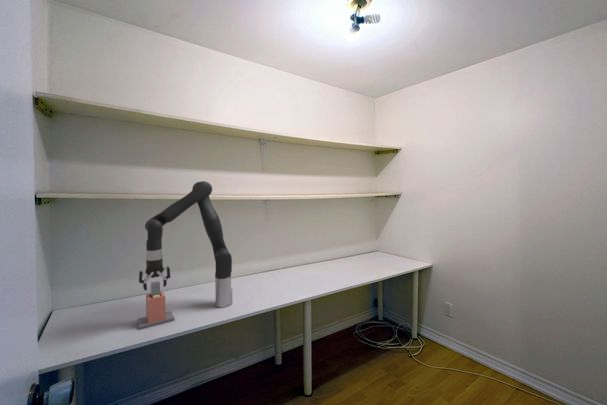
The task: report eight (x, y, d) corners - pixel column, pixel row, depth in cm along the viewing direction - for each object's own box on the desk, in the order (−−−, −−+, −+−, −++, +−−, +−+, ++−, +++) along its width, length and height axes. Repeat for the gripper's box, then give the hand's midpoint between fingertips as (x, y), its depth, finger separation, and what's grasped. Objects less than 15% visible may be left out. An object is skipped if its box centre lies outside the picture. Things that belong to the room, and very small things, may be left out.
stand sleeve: (171, 313, 152) (170, 287, 151) (174, 320, 144) (173, 293, 143) (137, 321, 143) (136, 293, 142) (139, 329, 135) (138, 300, 134)
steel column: (159, 314, 146) (158, 281, 145) (161, 317, 143) (160, 283, 141) (151, 316, 144) (150, 282, 142) (152, 320, 140) (151, 285, 139)
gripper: (168, 254, 148) (168, 283, 149) (137, 258, 140) (138, 288, 141) (170, 257, 142) (171, 287, 143) (139, 261, 134) (139, 293, 135)
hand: (155, 288), depth 142 cm, fingers open, 8 cm apart
